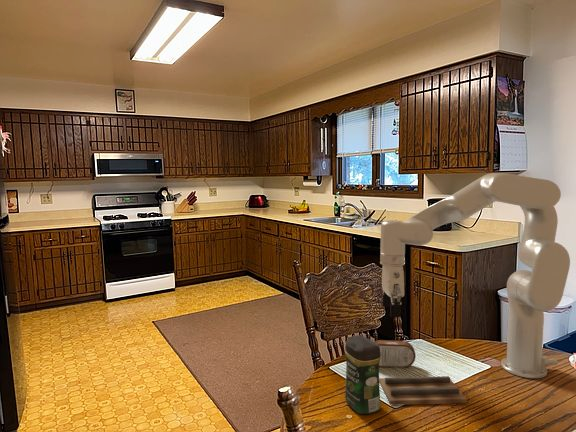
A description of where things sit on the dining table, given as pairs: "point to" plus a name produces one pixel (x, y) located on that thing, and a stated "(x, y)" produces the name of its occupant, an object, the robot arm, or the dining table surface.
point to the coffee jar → (362, 374)
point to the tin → (396, 353)
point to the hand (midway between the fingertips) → (391, 311)
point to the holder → (421, 390)
